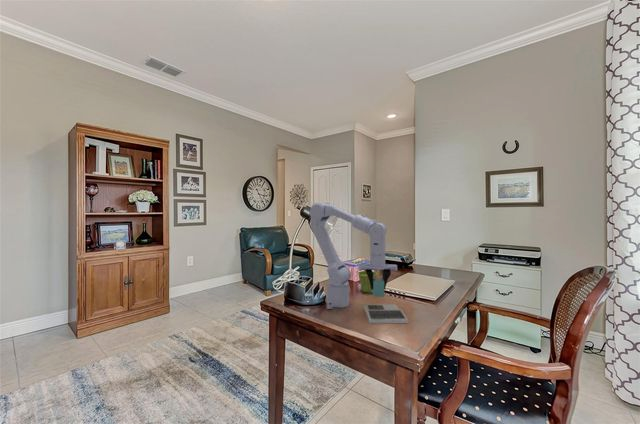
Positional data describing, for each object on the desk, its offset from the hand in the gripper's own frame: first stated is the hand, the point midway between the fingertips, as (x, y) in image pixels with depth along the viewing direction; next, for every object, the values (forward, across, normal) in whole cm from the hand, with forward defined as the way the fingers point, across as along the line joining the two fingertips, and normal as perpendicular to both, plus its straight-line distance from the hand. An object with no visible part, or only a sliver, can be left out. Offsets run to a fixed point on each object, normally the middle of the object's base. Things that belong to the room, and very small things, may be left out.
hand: (377, 288), depth 102 cm
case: (+9, +2, -7) cm, 12 cm away
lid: (+9, +2, +2) cm, 10 cm away
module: (+2, 0, 0) cm, 2 cm away
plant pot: (+10, -1, +25) cm, 27 cm away
